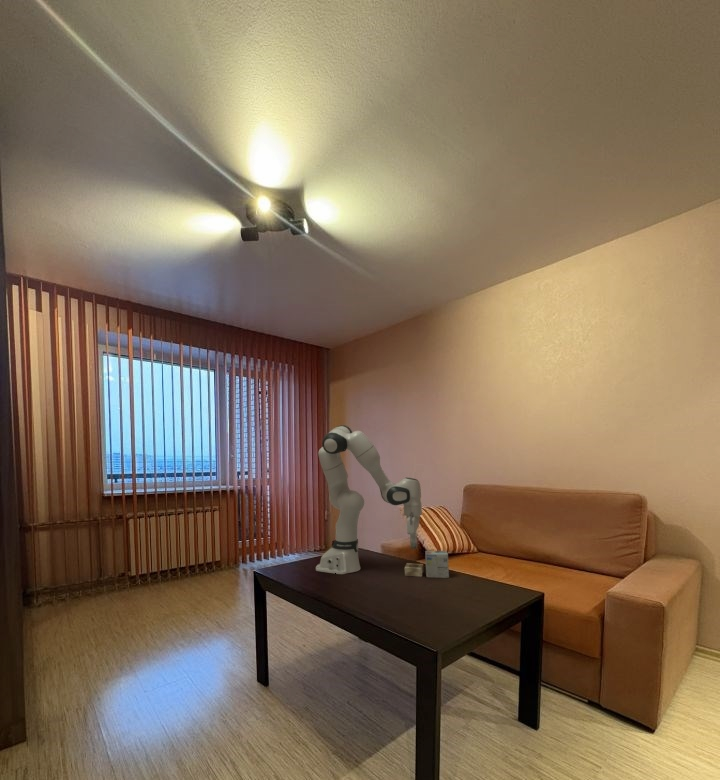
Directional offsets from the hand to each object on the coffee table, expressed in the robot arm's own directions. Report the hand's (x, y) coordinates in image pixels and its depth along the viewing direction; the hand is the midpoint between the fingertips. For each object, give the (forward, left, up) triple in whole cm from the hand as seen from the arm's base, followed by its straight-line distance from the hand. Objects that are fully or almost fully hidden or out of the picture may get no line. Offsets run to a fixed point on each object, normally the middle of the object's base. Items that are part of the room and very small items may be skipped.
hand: (413, 540), depth 197 cm
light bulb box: (+11, -1, -16) cm, 19 cm away
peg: (0, 0, -4) cm, 4 cm away
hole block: (0, 0, -15) cm, 15 cm away
